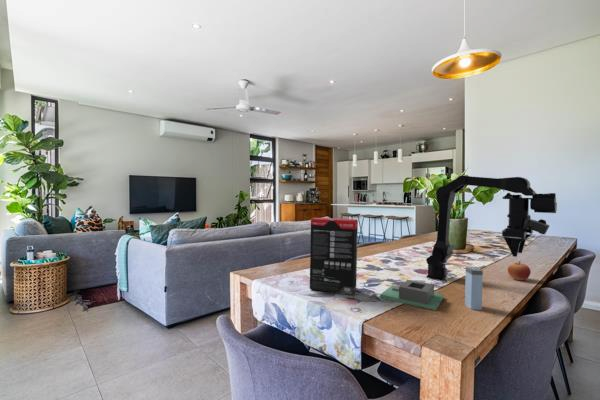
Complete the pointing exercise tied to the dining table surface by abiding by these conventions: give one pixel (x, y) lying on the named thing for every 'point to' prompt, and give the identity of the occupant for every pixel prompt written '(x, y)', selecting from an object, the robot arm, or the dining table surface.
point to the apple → (519, 271)
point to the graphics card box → (333, 255)
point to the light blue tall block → (473, 288)
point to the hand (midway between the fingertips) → (517, 254)
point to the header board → (396, 295)
